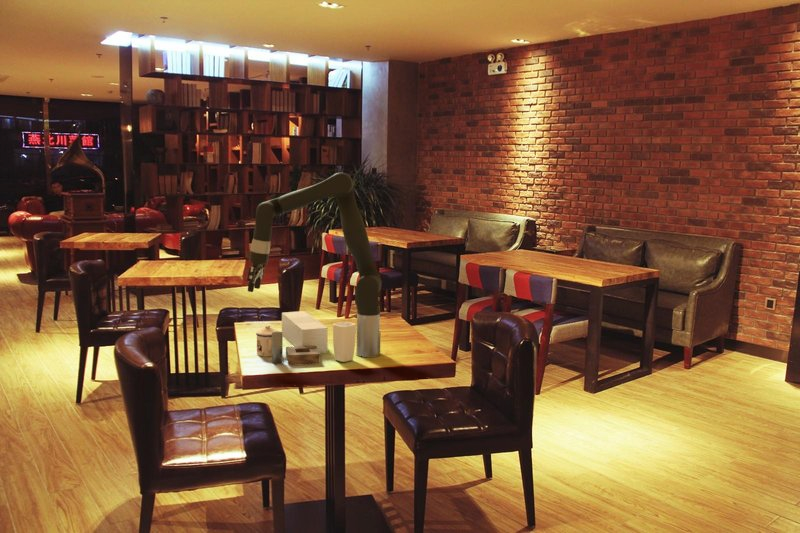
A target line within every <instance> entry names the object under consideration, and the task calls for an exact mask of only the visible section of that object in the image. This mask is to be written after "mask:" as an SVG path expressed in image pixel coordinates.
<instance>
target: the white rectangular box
mask: <svg viewBox="0 0 800 533" xmlns="http://www.w3.org/2000/svg"><path fill="white" fill-rule="evenodd" d="M328 329H329V328H328V327H327V326H326V325H325V324H324V323H322V322H320V320H318V319H316V318H315V317H314V316H312V315H311V314H310V313H309V312H307V311H305V310H302V311H301V310H300V311H288V312H287V311H286V312H281V332H282V333H283V338H284V339H285V340H286V341H287V342H288V343H289V344H290V345H291V346H292V345H293V346H316V347H317V349H318V351H319V353H320V354H325V353H328V347H329V346H328V336H329V335H328V331H329V330H328ZM293 346H292V347H293Z"/></svg>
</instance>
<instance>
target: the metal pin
mask: <svg viewBox="0 0 800 533" xmlns="http://www.w3.org/2000/svg"><path fill="white" fill-rule="evenodd" d="M283 338H284V337H283V333H282V331H279V330H277V332H272V356H271V364H273V365H281V363H282V362H283V360H284V359H283V349H284V348H283V343H284V342H283V340H284V339H283ZM282 364H283V363H282Z"/></svg>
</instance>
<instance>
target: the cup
mask: <svg viewBox="0 0 800 533" xmlns="http://www.w3.org/2000/svg"><path fill="white" fill-rule="evenodd" d="M356 335H357V323H353V322H350V321H339V322H334V323H333V324H332V339H333V340H332V341H333V342H332V344H333V355H334V359H335V360H336V361H338V362H339V363H347V362H351V361H353V360H354V354H355V347H356Z"/></svg>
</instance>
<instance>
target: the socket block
mask: <svg viewBox="0 0 800 533" xmlns="http://www.w3.org/2000/svg"><path fill="white" fill-rule="evenodd" d="M285 358H286V361H288V362H287V364H288V366H300V365H302V366H305V365H306V364H307V365H320V364H321V363H320V362H321V353H319V351H318V349H317V347H316V346H294V347H293V346H285Z"/></svg>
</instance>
